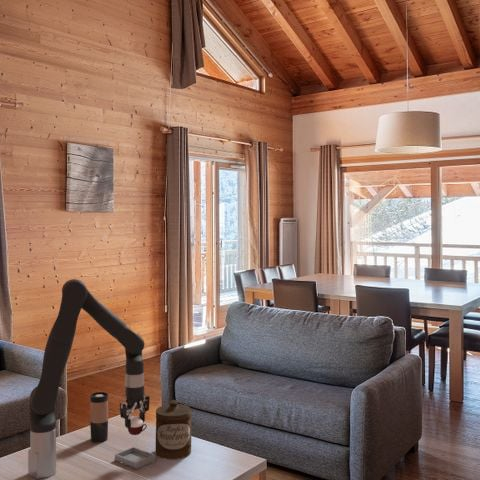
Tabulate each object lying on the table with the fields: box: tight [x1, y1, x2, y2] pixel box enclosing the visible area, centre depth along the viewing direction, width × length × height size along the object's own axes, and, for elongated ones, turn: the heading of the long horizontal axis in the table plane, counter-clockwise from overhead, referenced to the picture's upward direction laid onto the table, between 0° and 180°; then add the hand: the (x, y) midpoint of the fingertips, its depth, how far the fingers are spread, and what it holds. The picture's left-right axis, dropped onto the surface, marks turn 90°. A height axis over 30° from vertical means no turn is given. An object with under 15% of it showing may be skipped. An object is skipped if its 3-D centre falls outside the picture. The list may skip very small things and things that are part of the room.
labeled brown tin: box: [155, 399, 192, 460], centre depth 238 cm, size 15×15×22 cm
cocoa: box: [127, 415, 148, 436], centre depth 229 cm, size 10×6×12 cm, turn 85°
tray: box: [114, 446, 156, 470], centre depth 230 cm, size 10×13×2 cm
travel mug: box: [89, 391, 109, 443], centre depth 251 cm, size 8×8×20 cm
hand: (135, 424), depth 229 cm, fingers closed on cocoa, 6 cm apart
